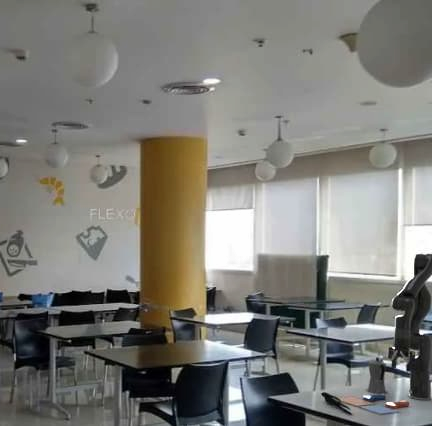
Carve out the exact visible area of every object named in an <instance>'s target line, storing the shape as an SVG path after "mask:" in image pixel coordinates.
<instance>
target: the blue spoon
mask: <svg viewBox="0 0 432 426" xmlns="http://www.w3.org/2000/svg"><path fill="white" fill-rule="evenodd" d="M386 398H387V396H386V393H376V394H371V395H363V396H362V400H364V401H367V402H371V403H374V402H375V401H379V400H385V399H386Z"/></svg>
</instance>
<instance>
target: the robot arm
mask: <svg viewBox="0 0 432 426" xmlns="http://www.w3.org/2000/svg"><path fill="white" fill-rule="evenodd" d="M412 263H413V264H412V265H413V266H412V268H413V269H412V270H413V273H412V274H413V276H412V277H411V278H410V279H409V280H408V281H407V282H406V283H405V285H404V287H403V289H402V290H401V291H400V292H398V293H397V294H396V295H395V296H394V297H393V299H392V301H391V307H392V309H393V310H394V311H396V312H404V313H403V314H402V315H397V316H395V317H394V329H393V346H389V347H388V354H387V358H388V359H390V361H391V365H390V366H391V369H397V360H398V359H399V358H401V359H403V360H404V361H405V363H406V364H405V371H406V372H407V373H409V389H408V393H409V394H408V395H409V398H410V399H411V398H412V399H415V400H419V401H430V400H431V398H432V381H431V361H432V337H431V336H430V335H429V334H426V333H420V330H421V326H422V323H423V322H424V320H425V318H426V317H427V316H428V315H429V314H430V311H431V309H432V294H431V292H430V290H429V288H428V287H427V285H426V282H427V281H428V280H430V278H431V277H432V253H424V252H423V253H422V252H421V253H420V252H418V253H416V254H415V255H414V257H413V262H412ZM416 352H418V355H417V356H416Z"/></svg>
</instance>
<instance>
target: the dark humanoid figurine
mask: <svg viewBox="0 0 432 426" xmlns="http://www.w3.org/2000/svg"><path fill="white" fill-rule="evenodd" d="M320 396H322V397H323V398H324V401H325V403H327V404H330V405H332V406H334V407H336V408H337V409H339V410H341V411H343V412H344V413H346V414H349V415H351V416H352V415H353V414H352V412H350V411H351V410H352V409H351V408H350V407H349V406H347V405H346V404H344V403H343V402H342V401H340V399H339V398H340V397H337V396H335V395H333V394H330V393H328V392H326V391H323V392H321V395H320ZM336 399H337V400H336Z"/></svg>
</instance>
